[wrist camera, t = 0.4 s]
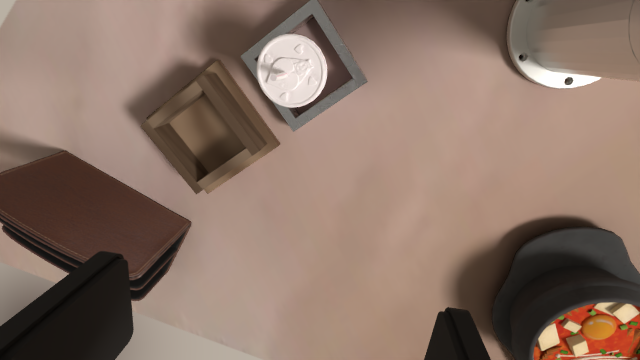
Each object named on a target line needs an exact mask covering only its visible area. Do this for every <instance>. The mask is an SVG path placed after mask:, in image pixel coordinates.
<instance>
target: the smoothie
mask: <svg viewBox="0 0 640 360" xmlns="http://www.w3.org/2000/svg"><path fill="white" fill-rule="evenodd" d="M257 78H258V82H259V84H260V87H261V89H262V90H263V92H264V93H265V94H266V96H267V97H268V98H269V99H271V100H272V101H273V102H275V103H276V104H279V105H281V106H284V107H291V108H293V107H300V106H303V105H306V104H308V103H310V102H312V101H313V100H315V99H316V98H317V97H318V95H319V94H320V93H321V91H322V90H323V88H324V86H325V83H326V79H327V64H326V60H325V57H324V55H323V53H322V51H321V49H320V48H319V47H318V46H317V45H316V44H315V43H314V42H313V41H312V40H310V39H308V38H307V37H305V36H302V35H298V34H285V35H281V36H278V37H276V38H274V39H272V40H271V41H269V42H268V43H267V44H266V45H265V47H264V48H263V49H262V51H261V53H260V55H259V58H258V61H257Z"/></svg>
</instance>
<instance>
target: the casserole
mask: <svg viewBox="0 0 640 360" xmlns="http://www.w3.org/2000/svg"><path fill="white" fill-rule="evenodd" d="M492 323H493V327H494V331H495V333H496V335H497V337H498V339H499V340H500V341H501V343H502V344H503V345H504V346H505V347H506V348H507V349H508V351H509V352H510V353H511V354H512V355H513V356H514V358H515V360H640V274H639V272H638V271H637V269H636V268H635V267H634V265H633V264H632V263H631V261H630V258H629V255H628V253H627V250H626V247H625V245H624V243H623V241H622V239H621V238H620V237H619V236H617V235H616V234H615V233H614V232H611V231H608V230H605V229H602V228H594V227H567V228H563V229H558V230H554V231H550V232H547V233H544V234H542V235H539V236H536V237H535V238H533V239H531V240H529V241H528V242H526V243H524V245H523V246H522V247H521V248H520V249H519V250H518V251H517V252H516V255H515V257H514V260H513V263H512V266H511V269H510V272H509V276H508V277H507V279H506V281H505V282H504V284H503V286H502V287H501V289H500V291H499V293H498V294H497V296H496V298H495V301H494V305H493V308H492Z"/></svg>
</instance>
